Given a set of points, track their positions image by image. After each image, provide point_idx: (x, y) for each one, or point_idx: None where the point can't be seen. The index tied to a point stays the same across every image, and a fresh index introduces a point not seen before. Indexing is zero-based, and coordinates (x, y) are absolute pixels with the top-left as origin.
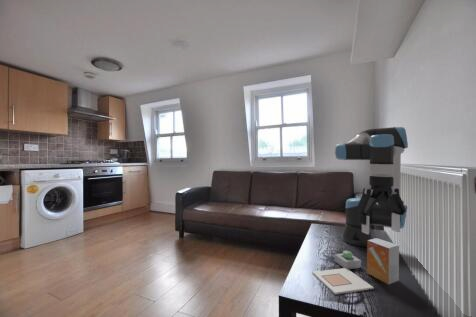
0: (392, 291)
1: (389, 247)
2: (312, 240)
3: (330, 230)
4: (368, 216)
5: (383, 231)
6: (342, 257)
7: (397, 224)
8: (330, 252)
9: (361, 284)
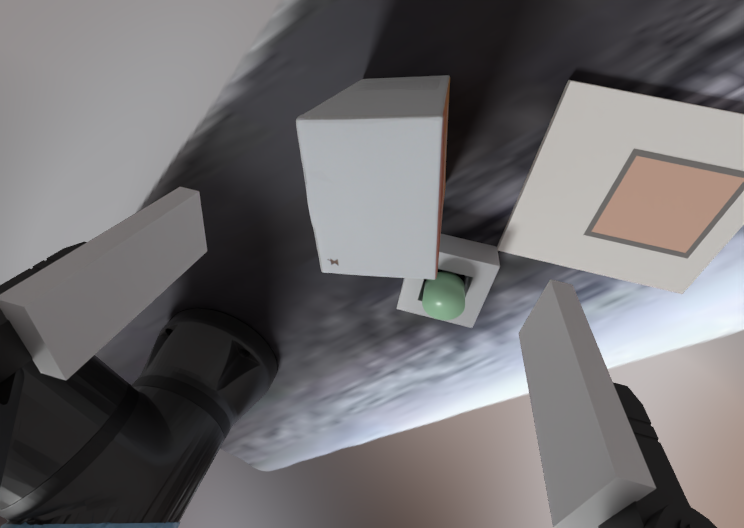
0: (500, 20)
1: (421, 124)
2: (390, 422)
3: (253, 430)
4: (638, 482)
5: None
6: (469, 297)
7: (146, 236)
8: (414, 349)
9: (598, 125)
